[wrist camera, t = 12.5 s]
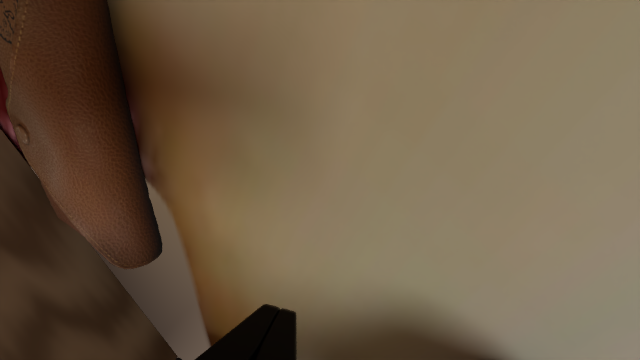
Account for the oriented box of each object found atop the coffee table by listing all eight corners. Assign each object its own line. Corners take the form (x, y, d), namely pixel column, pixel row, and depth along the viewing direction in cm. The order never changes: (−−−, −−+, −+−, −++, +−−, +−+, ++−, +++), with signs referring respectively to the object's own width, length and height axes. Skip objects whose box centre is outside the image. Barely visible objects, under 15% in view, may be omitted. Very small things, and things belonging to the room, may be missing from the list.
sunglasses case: (-36, -49, 20) (-125, -61, 14) (113, -45, 21) (87, -54, 16) (68, 232, 28) (38, 295, 22) (168, 217, 30) (163, 272, 24)
